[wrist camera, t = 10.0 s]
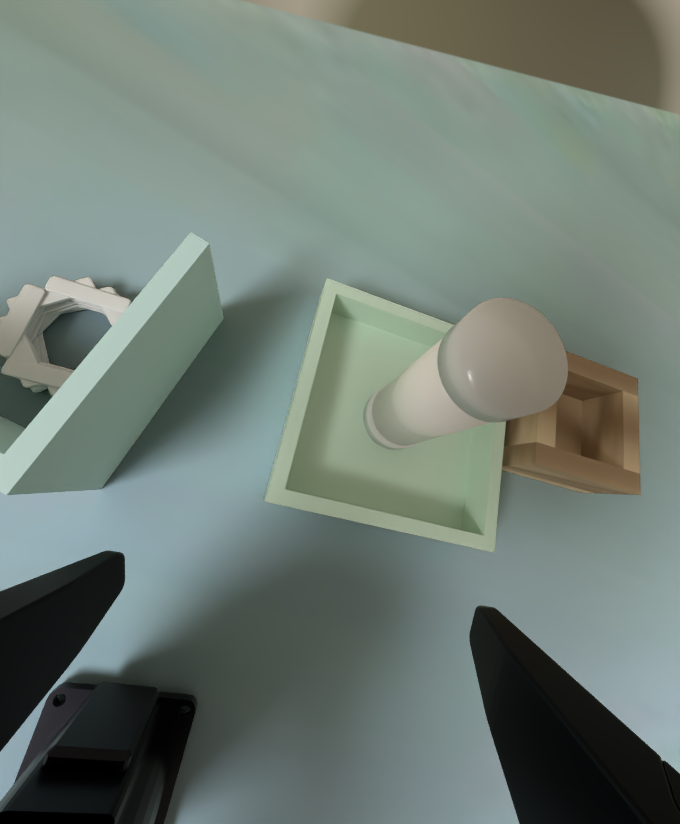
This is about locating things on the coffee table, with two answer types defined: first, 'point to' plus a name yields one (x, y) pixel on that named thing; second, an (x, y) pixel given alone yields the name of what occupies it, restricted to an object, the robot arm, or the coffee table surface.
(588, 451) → the tan square frame block
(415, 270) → the coffee table surface
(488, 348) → the ball
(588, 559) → the coffee table surface
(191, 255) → the right angle wall
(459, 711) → the coffee table surface
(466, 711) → the coffee table surface
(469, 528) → the parts tray
